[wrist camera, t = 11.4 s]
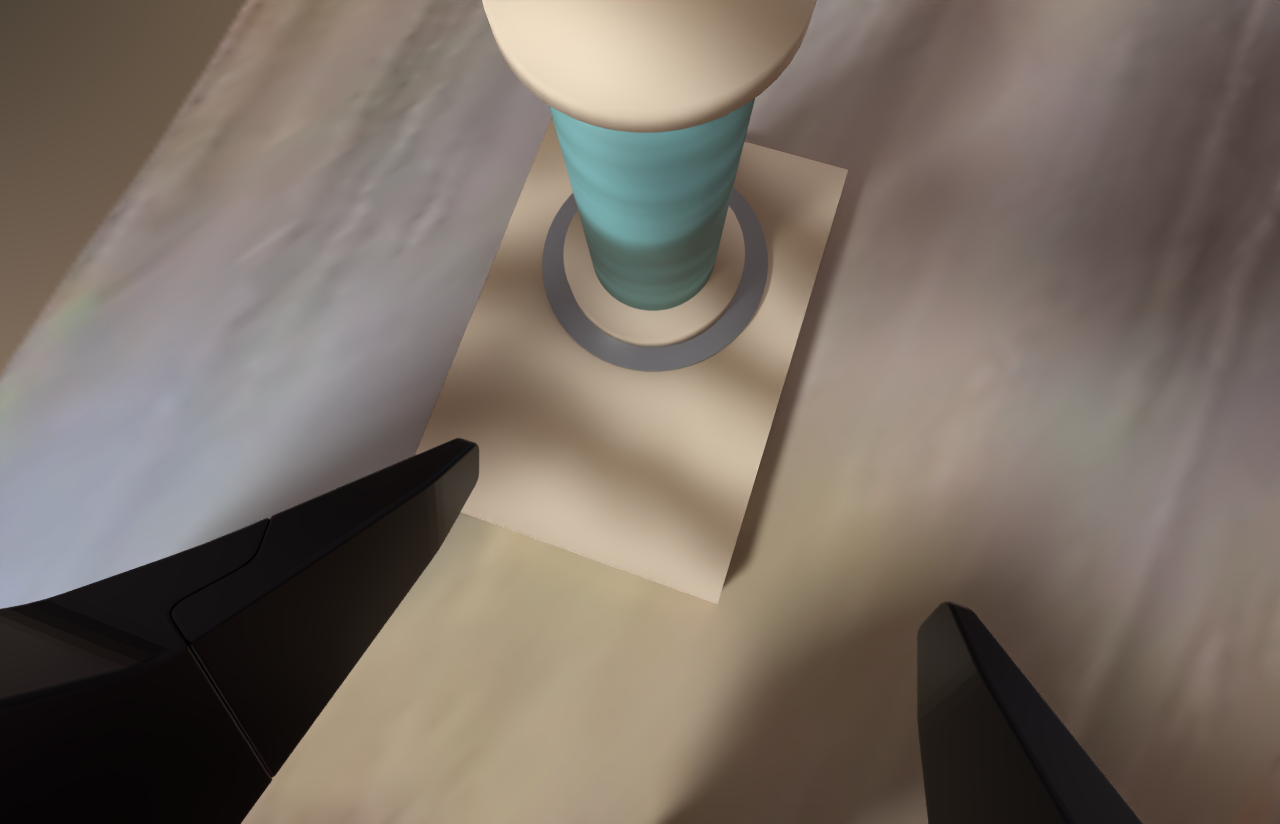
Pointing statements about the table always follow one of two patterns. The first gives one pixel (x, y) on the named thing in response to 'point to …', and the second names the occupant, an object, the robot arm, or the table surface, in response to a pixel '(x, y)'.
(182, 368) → the table surface
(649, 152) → the bobbin
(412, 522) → the robot arm
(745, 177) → the stand board
